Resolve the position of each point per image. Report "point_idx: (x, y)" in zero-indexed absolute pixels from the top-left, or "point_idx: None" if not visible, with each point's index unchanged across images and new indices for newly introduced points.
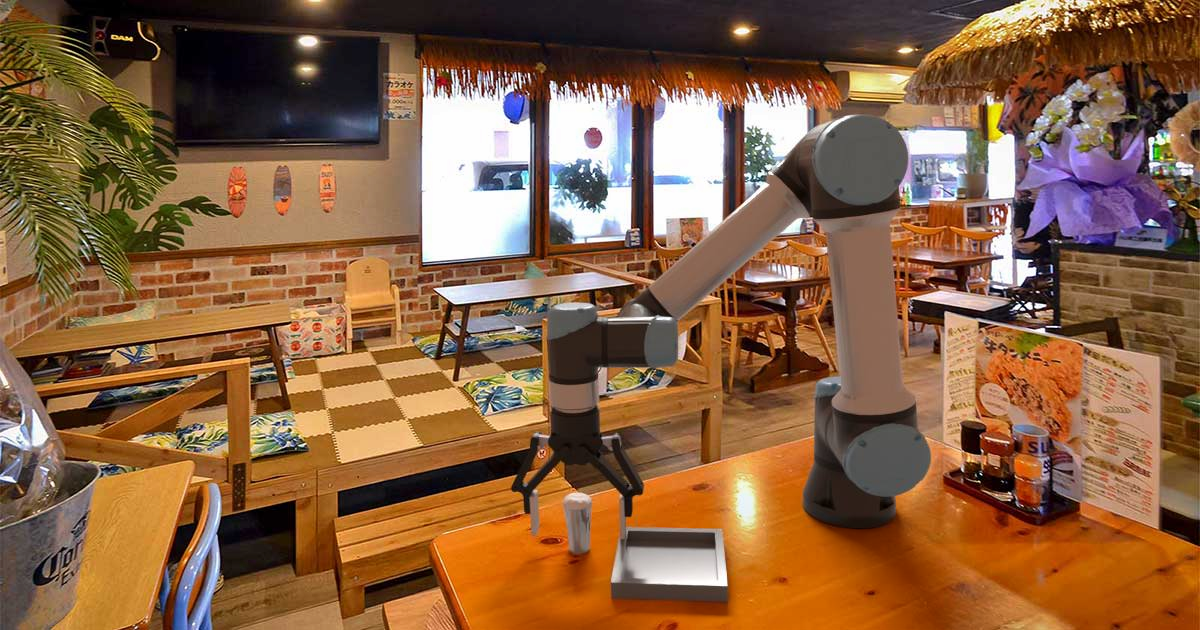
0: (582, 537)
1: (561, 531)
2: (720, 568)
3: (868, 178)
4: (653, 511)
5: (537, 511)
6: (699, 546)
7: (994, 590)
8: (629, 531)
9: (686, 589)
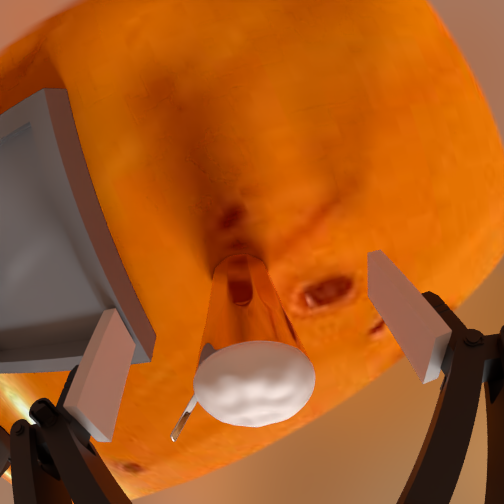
0: (220, 285)
1: (314, 332)
2: None
3: None
4: (156, 424)
5: (395, 319)
6: (6, 333)
7: None
8: None
9: None
